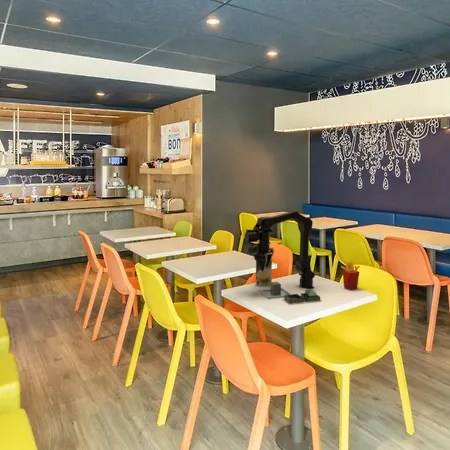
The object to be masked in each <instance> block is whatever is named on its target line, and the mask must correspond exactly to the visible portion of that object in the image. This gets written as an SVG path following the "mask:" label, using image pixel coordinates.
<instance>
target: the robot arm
mask: <svg viewBox="0 0 450 450" xmlns="http://www.w3.org/2000/svg"><path fill="white" fill-rule="evenodd" d="M290 220H293V221H295V222H296V224H297V228H298V231H299V237H300V238H299V259H298V260H297V261H295V267H294V268H295V270H296V272H297V273H298V276H300V278H299V285H298V286H299V287H300V288H302V289H305V290H310V289H314V288H315V287H314V278H315V276H316V274H315V272H313V271H312V266H311V263H310V260H309V249H310V247H309V246H310V233H311V231H312V230H313V229H312V228H313V220H312V218H309V217H306V216H305V215H303V214H301V213H300V212H298V211H296V210H291V211H288V212H284V213H280V214H277V215H273V216H260V217H258V218H257V220H256V224H254V227H253V228H252V229H245V233H244V235H243V236H244V241H245V242H246V243H256V242H257V244H256V245H254V246H252V245H250V246H249V247H248V249H247V250H248V251H247V253H249V254H250V255H253V254H254V253H255V254H254V255H253V260H255V262H256V261H258V262H259V265H260V269H261V271H264V268H265V266H266V267H268V265H269V263H270V261H271V258H272V257H273V256H274V254H275V249H274V248H273V247H270V246H271V241H270V233H273V232H274V230H273V229H272V227H273V226H275V225H276V224H280V223H283V222H287V221H290Z"/></svg>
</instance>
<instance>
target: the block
mask: <svg viewBox="0 0 450 450" xmlns="http://www.w3.org/2000/svg"><path fill="white" fill-rule="evenodd" d="M281 286H282V284H281V283H280V282H278V281H272V282H270V286H269V288H270V293H271V294H272V295H273V296H278V295H281V288H282V287H281Z"/></svg>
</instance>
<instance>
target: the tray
mask: <svg viewBox="0 0 450 450" xmlns="http://www.w3.org/2000/svg"><path fill="white" fill-rule="evenodd" d="M259 292H260V293H261V295H263V297H265V298H266V299H267V300H272V299H284V295H290V294H291V292H288V291H287V290H286V289H285V288H283V287H281V295H278V296H273V295H272V294H271V293H270V289H267V288H266V289H260V290H259Z"/></svg>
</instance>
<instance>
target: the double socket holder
mask: <svg viewBox="0 0 450 450" xmlns="http://www.w3.org/2000/svg"><path fill="white" fill-rule="evenodd" d="M282 301H283V302H284V303H286V304H287V305H289V306H291V305H299V304H310V303H317V302H322V301H323V300H322V299H321V296H320V295H318V294H317V291H315V290H314V289H305V290H304V293H303V292H302V293H300V294H298V293H294V294H293V293H292V294H291V293H290V295H284V298H282Z"/></svg>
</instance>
